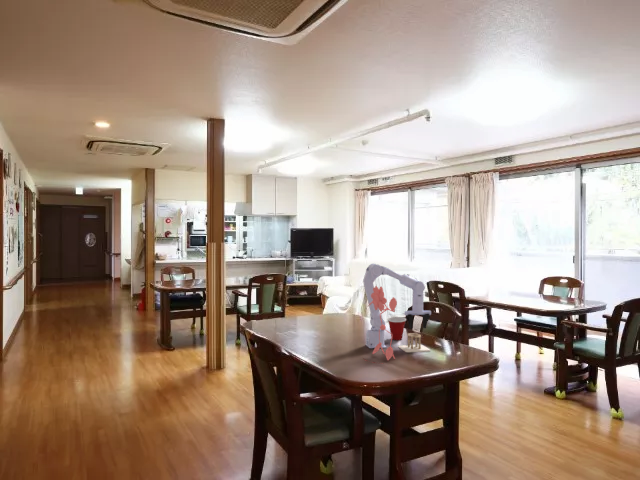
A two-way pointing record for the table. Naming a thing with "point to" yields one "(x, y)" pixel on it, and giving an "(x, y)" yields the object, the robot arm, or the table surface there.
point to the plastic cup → (396, 327)
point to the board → (414, 348)
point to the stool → (415, 340)
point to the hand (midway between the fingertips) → (417, 328)
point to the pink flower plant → (379, 303)
